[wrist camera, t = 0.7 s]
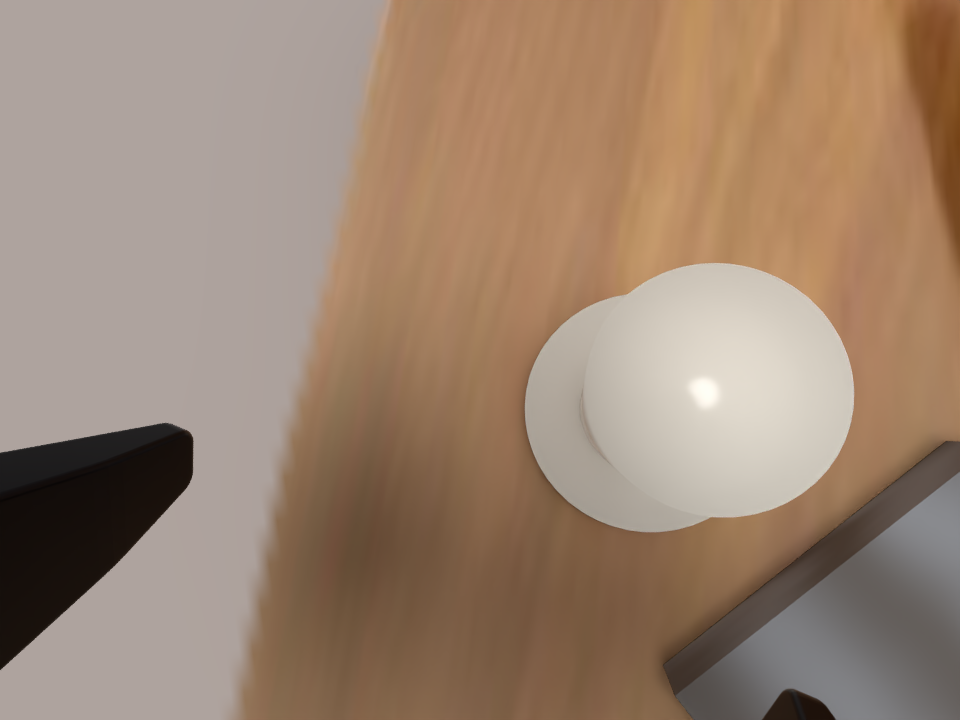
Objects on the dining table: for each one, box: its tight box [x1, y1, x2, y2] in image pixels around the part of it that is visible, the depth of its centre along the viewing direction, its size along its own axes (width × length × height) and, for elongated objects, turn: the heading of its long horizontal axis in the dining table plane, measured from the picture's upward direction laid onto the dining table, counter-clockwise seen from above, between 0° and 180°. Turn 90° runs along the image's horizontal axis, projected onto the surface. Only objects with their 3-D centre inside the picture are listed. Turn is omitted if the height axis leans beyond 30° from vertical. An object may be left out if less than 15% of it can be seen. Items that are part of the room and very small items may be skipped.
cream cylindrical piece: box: [525, 263, 854, 532], centre depth 16 cm, size 8×8×12 cm
